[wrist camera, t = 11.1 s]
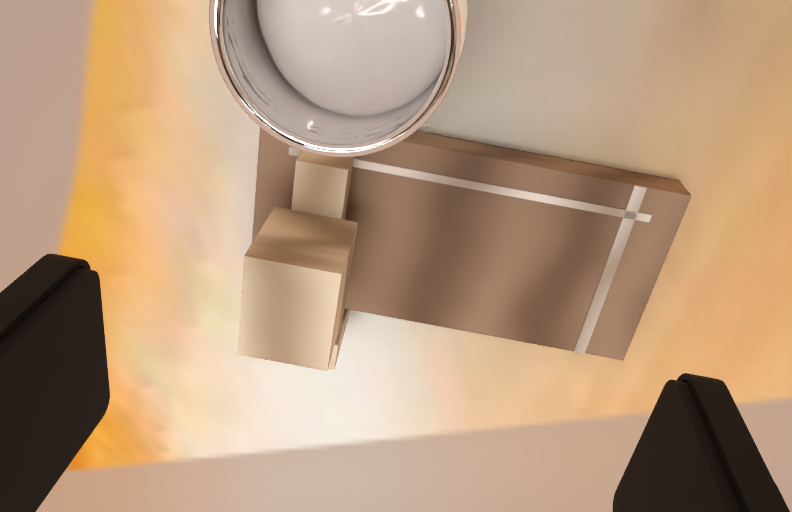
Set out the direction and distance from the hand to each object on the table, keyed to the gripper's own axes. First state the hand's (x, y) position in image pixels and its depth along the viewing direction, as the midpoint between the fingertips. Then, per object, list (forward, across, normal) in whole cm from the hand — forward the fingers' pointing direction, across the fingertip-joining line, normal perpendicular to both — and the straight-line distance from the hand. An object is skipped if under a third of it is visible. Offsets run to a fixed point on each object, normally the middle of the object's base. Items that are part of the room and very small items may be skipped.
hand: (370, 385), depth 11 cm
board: (+24, -2, +9) cm, 25 cm away
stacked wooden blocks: (+23, +5, +10) cm, 26 cm away
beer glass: (+24, +3, -3) cm, 24 cm away
